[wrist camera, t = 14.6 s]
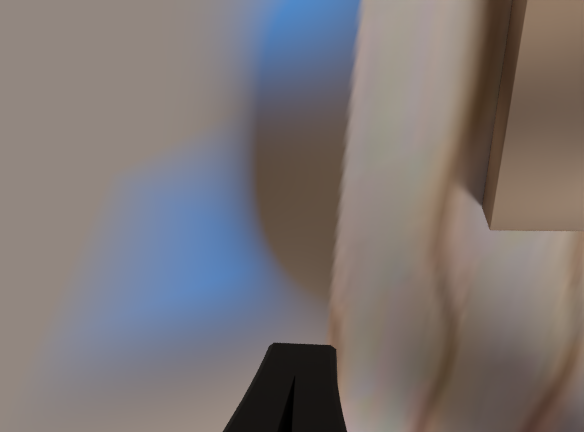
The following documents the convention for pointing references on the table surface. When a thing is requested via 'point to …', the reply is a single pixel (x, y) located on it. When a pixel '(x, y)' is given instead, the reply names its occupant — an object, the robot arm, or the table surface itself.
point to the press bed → (539, 122)
